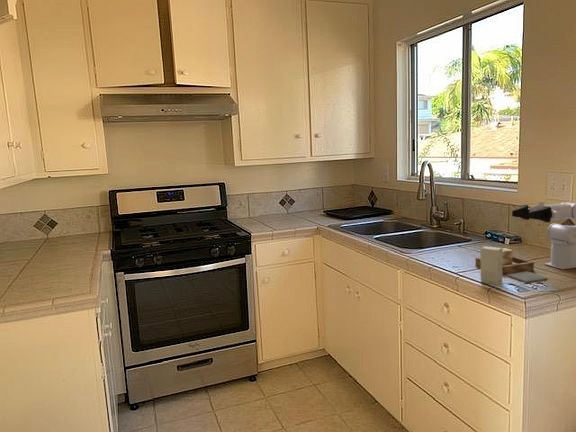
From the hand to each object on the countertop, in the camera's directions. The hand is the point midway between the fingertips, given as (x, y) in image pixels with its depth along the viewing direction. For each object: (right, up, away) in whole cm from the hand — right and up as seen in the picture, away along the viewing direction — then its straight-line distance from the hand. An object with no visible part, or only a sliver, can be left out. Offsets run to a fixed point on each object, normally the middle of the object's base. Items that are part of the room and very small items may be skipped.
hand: (520, 214), depth 160 cm
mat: (0, -22, -3) cm, 22 cm away
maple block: (-2, -18, +9) cm, 21 cm away
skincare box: (-13, -23, -6) cm, 28 cm away
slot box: (-2, -20, +10) cm, 22 cm away
